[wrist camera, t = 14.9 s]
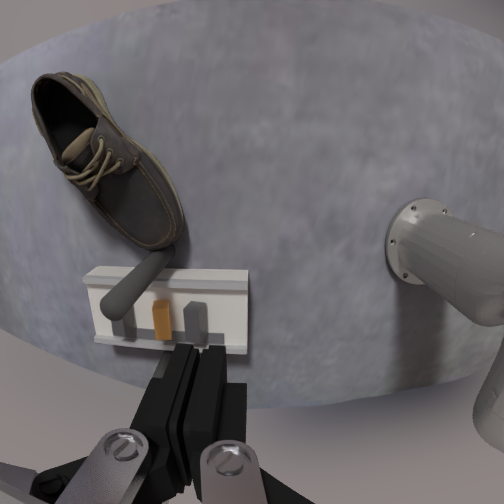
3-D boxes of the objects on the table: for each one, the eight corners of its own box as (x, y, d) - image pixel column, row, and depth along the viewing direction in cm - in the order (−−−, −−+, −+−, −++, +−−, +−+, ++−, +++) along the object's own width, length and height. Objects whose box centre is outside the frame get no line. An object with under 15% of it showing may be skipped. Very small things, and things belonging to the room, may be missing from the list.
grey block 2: (205, 302, 38) (198, 311, 36) (207, 333, 39) (200, 343, 37) (191, 300, 39) (183, 309, 36) (193, 331, 40) (185, 340, 37)
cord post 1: (174, 242, 41) (122, 296, 24) (175, 259, 42) (126, 322, 24) (157, 242, 41) (97, 294, 24) (158, 259, 42) (102, 319, 24)
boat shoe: (150, 263, 42) (120, 293, 32) (37, 120, 36) (-8, 115, 26) (207, 212, 40) (190, 228, 30) (83, 66, 34) (42, 47, 24)
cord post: (181, 340, 45) (149, 425, 28) (183, 353, 46) (153, 439, 28) (166, 338, 45) (128, 421, 28) (168, 352, 46) (133, 435, 28)
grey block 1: (130, 299, 38) (120, 306, 36) (135, 328, 39) (125, 337, 37) (118, 296, 39) (107, 304, 36) (123, 326, 40) (113, 334, 38)
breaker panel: (248, 270, 42) (247, 283, 37) (247, 335, 45) (246, 354, 40) (98, 266, 42) (82, 277, 37) (107, 326, 45) (94, 342, 40)
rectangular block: (168, 299, 39) (168, 308, 36) (172, 329, 40) (171, 339, 37) (153, 300, 38) (151, 308, 36) (157, 330, 39) (156, 340, 37)
